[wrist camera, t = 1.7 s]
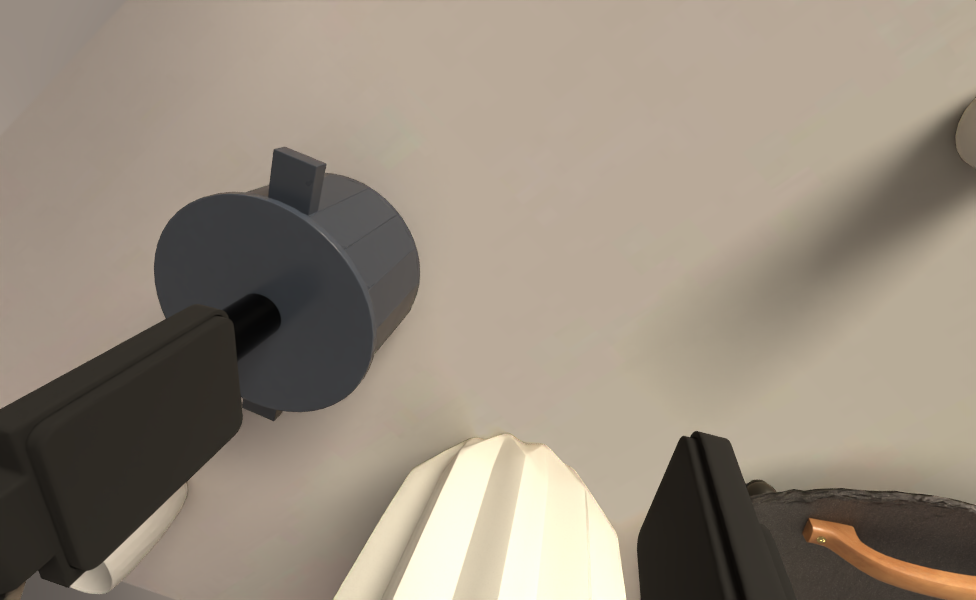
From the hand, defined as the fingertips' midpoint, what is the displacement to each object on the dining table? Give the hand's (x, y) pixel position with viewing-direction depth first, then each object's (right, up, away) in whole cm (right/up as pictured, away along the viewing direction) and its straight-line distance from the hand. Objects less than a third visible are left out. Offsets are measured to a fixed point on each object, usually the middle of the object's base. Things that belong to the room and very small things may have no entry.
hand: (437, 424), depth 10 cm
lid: (-12, +2, +18) cm, 21 cm away
